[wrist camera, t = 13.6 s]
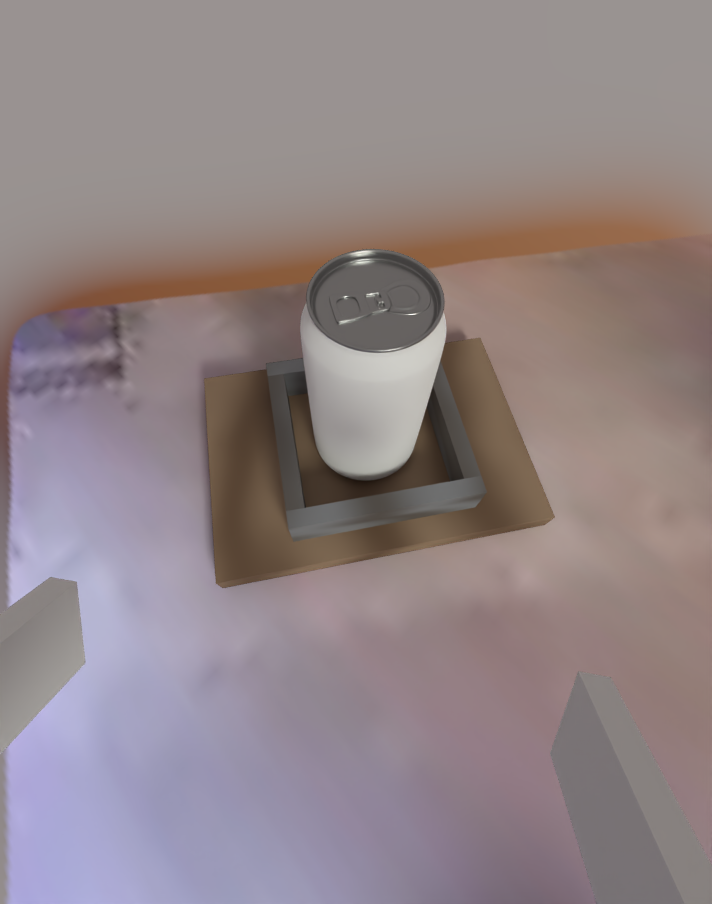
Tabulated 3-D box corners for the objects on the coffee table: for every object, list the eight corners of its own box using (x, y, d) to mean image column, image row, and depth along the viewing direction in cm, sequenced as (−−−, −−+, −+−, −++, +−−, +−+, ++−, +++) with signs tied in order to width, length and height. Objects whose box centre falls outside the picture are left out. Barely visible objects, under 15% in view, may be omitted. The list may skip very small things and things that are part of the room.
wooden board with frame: (475, 350, 34) (490, 313, 30) (544, 524, 28) (574, 502, 24) (210, 391, 32) (192, 355, 28) (222, 588, 26) (202, 574, 22)
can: (428, 470, 28) (480, 341, 17) (327, 494, 27) (314, 375, 16) (397, 387, 30) (425, 231, 20) (305, 406, 30) (281, 255, 19)
